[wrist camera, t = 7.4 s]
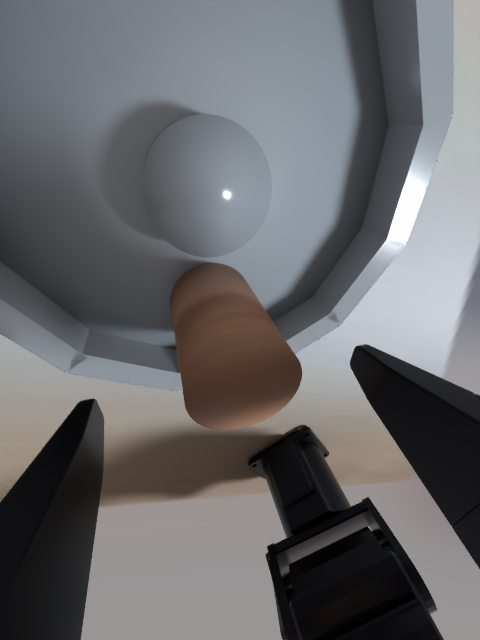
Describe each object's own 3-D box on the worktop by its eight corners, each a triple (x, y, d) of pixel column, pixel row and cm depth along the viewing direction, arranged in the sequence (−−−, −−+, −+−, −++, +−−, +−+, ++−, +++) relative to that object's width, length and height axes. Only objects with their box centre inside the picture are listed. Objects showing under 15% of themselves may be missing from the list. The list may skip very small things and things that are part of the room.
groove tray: (417, 241, 16) (454, 256, 14) (163, 402, 18) (165, 434, 16) (340, -600, 5) (466, -1068, 3) (-341, 47, 6) (-543, 13, 5)
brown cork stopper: (248, 326, 15) (294, 415, 11) (175, 338, 14) (190, 441, 10) (250, 259, 13) (310, 333, 8) (164, 267, 12) (177, 357, 7)
